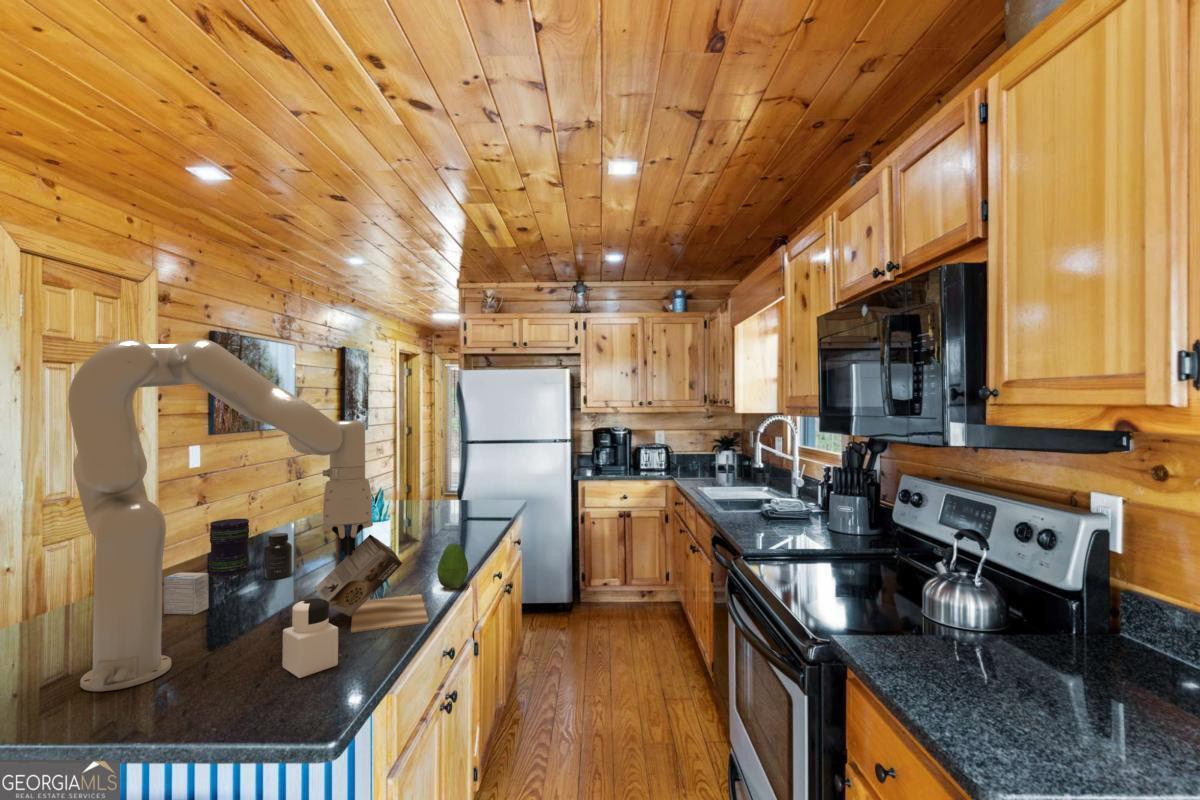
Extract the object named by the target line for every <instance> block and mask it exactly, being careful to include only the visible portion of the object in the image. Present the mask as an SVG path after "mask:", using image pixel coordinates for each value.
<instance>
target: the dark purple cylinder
mask: <svg viewBox="0 0 1200 800" xmlns="http://www.w3.org/2000/svg"><path fill="white" fill-rule="evenodd" d="M249 523H250V520H249V519H248V518H228V519H226V518H225V519H219V520H214V521H212V522H210V523H209V525H210V526H209V527H210V529H209V531H210V532H209V542H210V556H209V562H208V563H209V564H208V566H209V577H212V578H229V577H235V576H239V575H242V574H246V573H248V572H249V563H250V557H249V555H250V553H249V552H250V551H248V550H249V548H248V546H249V545H248V544H249V541H248V540H249V539H250V524H249Z"/></svg>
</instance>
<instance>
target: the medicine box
mask: <svg viewBox="0 0 1200 800" xmlns="http://www.w3.org/2000/svg"><path fill="white" fill-rule="evenodd" d="M163 585H164V586H163V614H164V615H165V614H167V615H192V616H193V615H197V614H199V613H200V614H201V613H202V612H204V611H207V610H208V609H209V573H208V572H176V573H174V574H170V575H167V576H166V577H164V579H163Z"/></svg>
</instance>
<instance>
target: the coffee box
mask: <svg viewBox="0 0 1200 800" xmlns="http://www.w3.org/2000/svg"><path fill="white" fill-rule="evenodd" d="M402 565H403V562H402V561H401V560H400V559H399V557H398V555H397V554H396V552H395V551H394V550H393V549H392V548H390V547H389V546H388V545H386V544H385V543H383V542H382V541H380V539H378V538H377V537H375V536H373V534H368V536H367V537H366V538H365V539H364V540H363V541H362V542H361V543H359V544H358V545H357V546H355V550H353V551H352V555H347V556H345V557H344V559H343V560H342V561H341V562H340V563H338V565H337V566H336V567H334V569H332V570H331V571H330V572H329V573H328V574H327V575H326V576H325V577H324V578H323V579H322V580H320V581H319V583H318V584H317V585H315V586H314V589H315V590H316V592H317V593H318V595H319V597H320V599H324V600H326V601H328V602H329V608H332V609H334V610H336V611H338V612H340V613H342V614H344V615H346V616H348V617H352V615H353V613H354V612H355V611H356V610H357V609H358V608H359V607H360V606H361V605H362V604H363V603H364V602H365V601H366V600H369V599H370V597H371V596H373V594H374V593H375V592H377V590H378V589H379V588H380V587H382V585H383V584H384V583H385V582H386V581H388V579H389V578H390V577H391V576H392V575H393V574H394V573H395V572H396V571H397V570H398V569H400V567H401V566H402Z"/></svg>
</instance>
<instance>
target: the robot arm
mask: <svg viewBox="0 0 1200 800" xmlns="http://www.w3.org/2000/svg"><path fill="white" fill-rule="evenodd" d="M193 384H195V385H196V386H198V387H200V388H202V390H204V391H206V392H207V393H209V394H211V396H213V397H215V398H216V399H218V400H220V401H221V402H222V403H224V404H226V405H227V406H228V407H230V408H231V409H233V410H234V411H236V412H237V413H239V414H240V415H242V416H245V417H247V418H248V419H251V420H254V421H256V422H260V423H264V424H266V425H269V426H271V427H273V428H275V429H278V430H280V432H284V433H285V434H286V435H288V442H289V445H290V446H291V448H293V449H294V451H296V452H298V453H301V454H304V455H310V456H311V455H313V456H321V457H322V456H329V468H328V469H326V470H324V469H323V470H322V476H323V477H327V478H329V480H327V481H325V484H324V485H325V486H324V492H323V502H322V503H323V504H322V520H323V521H322V522H323V523H322V527H321V530H323V531H326V532H333V533H335V534H336V535H337V536H338V537H339V538H340V552H343V555H344V557H347V556H348V555H352V551H353V550H355V548H356V537H357V535H358V534H359V533H360V532H361V531H362V530H365V529H368V528H372V527H373V526H374V523H373V519H372V515H373V514H372V513H373V510H372V507H373V506H372V505H373V503H372V489H371V486H370V485H371V484H370V480H369V478H366V425H365V424H364V422H363V421H360V420H336V421H334V420H332V419H331V418H329V417H328V416H327V415H325V414H324V413H322V411H320V410H319V409H317V408H315V406H313V405H311V404H309V403H308V402H307V401H305V400H303V399H301V398H300V397H298V396H296V395H294V394H293V393H291V392H289V391H288V390H286V389H284V388H283V387H281V386H279V385H277V384H275V383H274V382H271V381H270V380H269V379H267V378H266V377H264V376H263V375H262V374H261V373H259V372H257V371H256V370H255V369H253V368H252V367H250V366H249V365H248V364H247V363H245V362H244V361H243V360H241V359H239V358H238V357H237V356H236V355H234V354H232V353H231V352H230V351H228V350H227V349H226V348H225V347H223V346H222V345H220V344H218V343H217V342H214V341H212V340H209V339H202V338H200V339H193V340H190V341H187V342H181V343H180V342H179V343H160V344H159V343H157V344H156V343H155V344H154V343H153V344H150V343H149V344H147V343H146V342H143V341H140V340H138V339H133V338H132V339H127V338H126V339H119V340H116V341H113V342H110V343H108V344H107V345H106V346H104V347H102V348H100V349H99V350H98V351H96V352H95V353H94V354H92V355H91V356H90V357H88V358H87V360H85V361H84V362H83V363H82V365H81V366H80V367H79V369H78V370H77V371H76V373H75V375H74V377H73V379H72V381H71V383H70V387H69V390H68V399H67V400H68V401H67V403H68V410H69V416H70V417H69V418H70V421H71V427H72V432H73V436H74V441H75V445H76V451H77V453H76V455H75V457H74V461H73V463H72V464H73V475H74V480H75V483H76V487H77V491H78V494H79V499H80V502H81V506H82V510H83V515H84V517H85V521H86V523H87V527H88V529H89V531H90V533H91V535H92V536H93V537H94V538H95V554H94V567H93V622H92V623H93V628H92V629H93V631H92V632H93V633H92V634H93V635H92V636H93V637H92V638H93V639H92V669H91V670H89V671H88V672H86V673H84V674H83V676H81V678H80V682H79V687H80V688H81V689H83V690H84V691H88V692H109V691H116V690H122V689H127V688H131V687H134V686H138V685H142V684H144V683H147V682H150V681H152V680H155V679H157V678H159V677H160V676H162V675H164V674H166V673H167V672H168V671H170V669H171V667H172V658H171V657H169V656H167V655H163V654H162V621H163V619H162V614H163V610H162V609H163V608H162V607H163V558H164V550H165V549H164V548H165V542H166V541H165V540H166V536H167V535H166V534H167V533H166V531H167V528H166V525H167V524H166V520H165V517H164V516H165V515H164V513H163V512H162V511H161V508H159V507H158V505H156V504H155V503H153V502H152V501H150V500H149V498H148V494H147V490H146V486H145V483H144V478H145V476H146V474H147V470H148V461H147V458H146V455H145V452H144V449H143V446H142V442H141V438H140V434H139V432H138V431H139V429H138V427H137V423H136V417H135V416H136V415H135V411H134V399H135V395H136V393H137V390H138V389H139V388H153V387H155V388H156V387H169V386H170V387H171V386H174V387H175V386H184V385H193ZM345 526H351V530H350V532H349V535H348V534H347V533H346V527H345Z"/></svg>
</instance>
